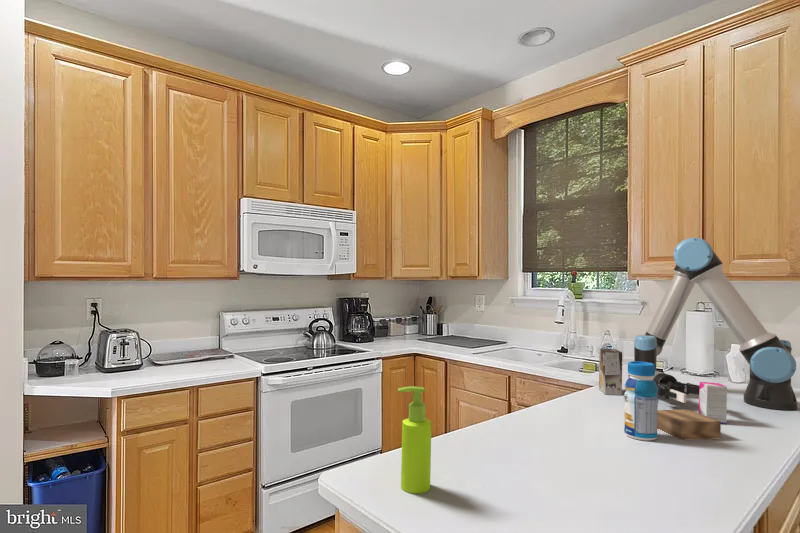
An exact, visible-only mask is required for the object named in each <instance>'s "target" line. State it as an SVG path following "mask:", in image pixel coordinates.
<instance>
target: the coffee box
mask: <svg viewBox="0 0 800 533" xmlns="http://www.w3.org/2000/svg"><path fill="white" fill-rule="evenodd" d="M598 352H599V353H598V357H599V358H598V361H599V362H598V379H599V380H598V390H599V391H600V392H602V393H603V394H604V395H609V396H610V395H611V396H622V395H623V352H622V351H620V350H618V349H615V348H599V350H598Z"/></svg>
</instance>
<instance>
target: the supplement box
mask: <svg viewBox="0 0 800 533" xmlns="http://www.w3.org/2000/svg"><path fill="white" fill-rule="evenodd" d="M698 385H699V395H698V413H699V414H702V415H705V416H707V417H710V418H713V419H716V420H718V421H721V425H727V414H728V413H727V409H728V407H727V402H728V401H727V400H728V387H727V386H726V385H723V384H721V383H718V382H706V381H699V384H698Z"/></svg>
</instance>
